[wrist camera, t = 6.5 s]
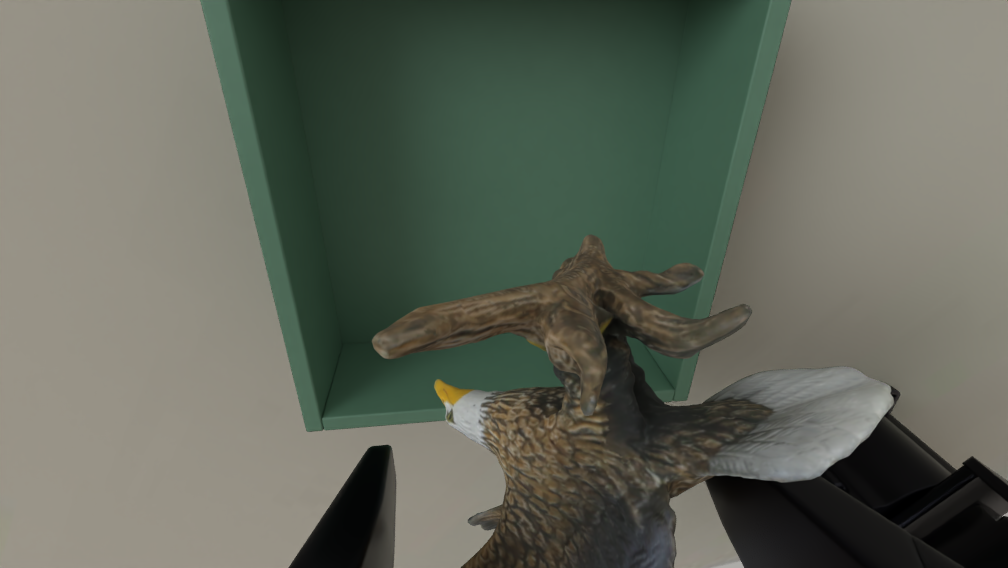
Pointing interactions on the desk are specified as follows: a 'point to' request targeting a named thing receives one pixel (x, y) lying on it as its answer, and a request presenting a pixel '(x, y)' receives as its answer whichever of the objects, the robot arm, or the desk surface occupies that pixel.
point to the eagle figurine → (623, 414)
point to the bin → (481, 169)
